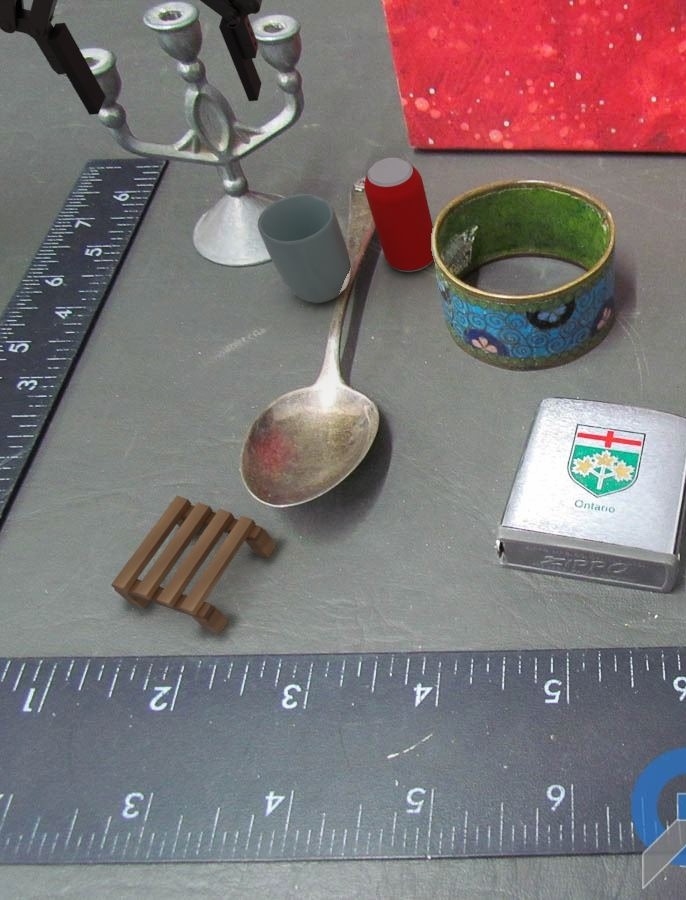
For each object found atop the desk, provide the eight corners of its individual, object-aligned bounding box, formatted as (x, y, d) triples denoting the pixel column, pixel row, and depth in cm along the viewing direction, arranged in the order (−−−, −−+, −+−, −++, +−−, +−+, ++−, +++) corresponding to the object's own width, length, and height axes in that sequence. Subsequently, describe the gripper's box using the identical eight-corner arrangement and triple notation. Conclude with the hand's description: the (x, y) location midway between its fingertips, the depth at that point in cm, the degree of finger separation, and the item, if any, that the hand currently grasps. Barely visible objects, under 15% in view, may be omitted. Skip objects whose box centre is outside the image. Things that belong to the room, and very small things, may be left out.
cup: (274, 291, 93) (241, 220, 85) (329, 255, 96) (302, 183, 88) (317, 323, 90) (287, 253, 82) (372, 285, 93) (349, 213, 85)
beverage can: (381, 276, 94) (353, 188, 84) (392, 239, 97) (367, 151, 88) (434, 277, 94) (412, 189, 84) (443, 241, 97) (424, 152, 87)
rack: (130, 604, 71) (104, 582, 67) (192, 518, 76) (170, 493, 72) (220, 635, 69) (198, 613, 66) (276, 545, 74) (259, 520, 70)
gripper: (-184, -161, 52) (18, 136, 69) (216, -188, 53) (316, 111, 70) (-136, -203, 56) (43, 87, 74) (233, -228, 57) (323, 63, 75)
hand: (177, 99), depth 72 cm, fingers open, 13 cm apart
